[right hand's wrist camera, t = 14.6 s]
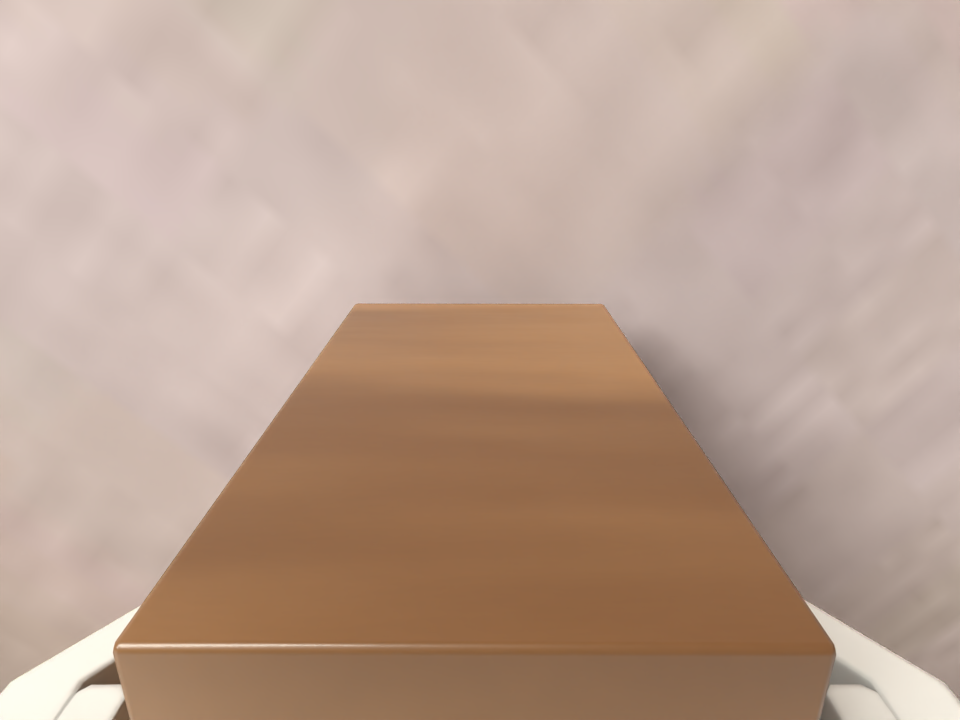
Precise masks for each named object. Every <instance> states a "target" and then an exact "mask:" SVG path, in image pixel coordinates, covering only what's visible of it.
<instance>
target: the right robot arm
mask: <svg viewBox="0 0 960 720" xmlns="http://www.w3.org/2000/svg"><path fill="white" fill-rule="evenodd" d="M804 601H805V602H806V604H807V605H808V606H809V608H810V609H811V611H812V612H813V614H814V615H815V617H816V618H817V620H818V621H819V623H820V624H821V626H822V627H823V629H824V630H825V631H826V633H827V634H828V636H829V637H830V639H831V640H832V642H833V643H834V646H835V650H836V658H835V662H834V666H833V670H832V674H831V678H830V682H829V686H828V690H827V694H826V698H825V702H824V705H823V709H822V713H821V717H820V720H960V701H959V699H958V698H957V697H956V696H955V694H954V693H953V692H952V691H951V690H950V688H949V687H948V686H947V685H946V684H945V683H944V682H943V681H941V680H939V679H938V678H936V677H934V676H933V675H931V674H929V673H927V672H926V671H924V670H922V669H921V668H919V667H917V666H916V665H914V664H912V663H911V662H909V661H907V660H905V659H904V658H902V657H900V656H899V655H897V654H895V653H894V652H892V651H890V650H889V649H887V648H885V647H884V646H882V645H880V644H878V643H877V642H875V641H873V640H872V639H870V638H868V637H867V636H865V635H863V634H862V633H860V632H858V631H856V630H855V629H853V628H851V627H850V626H848V625H846V624H845V623H843V622H841V621H840V620H838V619H836V618H835V617H833V616H831V615H829V614H828V613H826V612H824V611H823V610H821V609H819V608H818V607H816V606H814V605H813V604H811V603H809V602H807V601H806V600H804ZM139 608H140V606H139V607H137V608H136V609H134V610H132V611H131V612H129V613H127V614H126V615H124V616H122V617H120V618H119V619H117V620H115V621H114V622H112V623H110V624H108V625H107V626H105V627H103V628H102V629H100V630H98V631H97V632H95V633H93V634H91V635H90V636H88V637H86V638H85V639H83V640H81V641H79V642H78V643H76V644H74V645H73V646H71V647H69V648H68V649H66V650H64V651H62V652H61V653H59V654H57V655H56V656H54V657H52V658H50V659H49V660H47V661H45V662H44V663H42V664H40V665H39V666H37V667H35V668H33V669H32V670H30V671H28V672H27V673H25V674H23V675H21V676H20V677H18V678H16V679H15V680H13V681H11V682H10V683H9V685H8V686H7V687H6V688H5V689H4V690H3V692H2V693H1V694H0V720H130V717H129V714H128V710H127V706H126V702H125V698H124V694H123V690H122V687H121V683H120V679H119V675H118V671H117V667H116V663H115V659H114V656H113V648H114V644H115V641H116V640H117V639H118V637H119V636H120V634H121V633H122V632H123V630H124V629H125V627H126V626H127V625H128V623H129V622H130V620H131V619H132V618H133V616H134V615H135V613H136V612H137V610H138V609H139Z"/></svg>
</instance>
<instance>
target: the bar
mask: <svg viewBox="0 0 960 720" xmlns="http://www.w3.org/2000/svg"><path fill="white" fill-rule="evenodd" d="M113 656H114V659H115V663H116V667H117V671H118V675H119V679H120V683H121V687H122V690H123V694H124V698H125V702H126V706H127V710H128V714H129V717H130V720H820V717H821V713H822V709H823V705H824V702H825V698H826V694H827V690H828V686H829V682H830V678H831V674H832V670H833V666H834V662H835V658H836V650H835V646H834V643H833V642H832V640H831V639H830V637H829V636H828V634H827V633H826V631H825V630H824V629H823V627H822V626H821V624H820V623H819V621H818V620H817V618H816V617H815V615H814V614H813V612H812V611H811V609H810V608H809V606H808V605H807V604H806V602H805V601H804V599H803V598H802V596H801V595H800V593H799V592H798V590H797V589H796V587H795V586H794V584H793V583H792V581H791V580H790V579H789V577H788V576H787V574H786V573H785V571H784V570H783V568H782V567H781V565H780V564H779V562H778V561H777V559H776V558H775V556H774V555H773V553H772V552H771V551H770V549H769V548H768V546H767V545H766V543H765V542H764V540H763V539H762V537H761V536H760V534H759V533H758V531H757V530H756V528H755V527H754V526H753V524H752V523H751V521H750V520H749V518H748V517H747V515H746V514H745V512H744V511H743V509H742V508H741V506H740V505H739V503H738V502H737V501H736V499H735V498H734V496H733V495H732V493H731V492H730V490H729V489H728V487H727V486H726V484H725V483H724V481H723V480H722V478H721V477H720V475H719V474H718V473H717V471H716V470H715V468H714V467H713V465H712V464H711V462H710V461H709V459H708V458H707V456H706V455H705V453H704V452H703V450H702V449H701V448H700V446H699V445H698V443H697V442H696V440H695V439H694V437H693V436H692V434H691V433H690V431H689V430H688V428H687V427H686V425H685V424H684V423H683V421H682V420H681V418H680V417H679V415H678V414H677V412H676V411H675V409H674V408H673V406H672V405H671V403H670V402H669V400H668V399H667V397H666V396H665V395H664V393H663V392H662V390H661V389H660V387H659V386H658V384H657V383H656V381H655V380H654V378H653V377H652V375H651V374H650V372H649V371H648V370H647V368H646V367H645V365H644V364H643V362H642V361H641V359H640V358H639V356H638V355H637V353H636V352H635V350H634V349H633V347H632V346H631V345H630V343H629V342H628V340H627V339H626V337H625V336H624V334H623V333H622V331H621V330H620V328H619V327H618V325H617V324H616V322H615V321H614V319H613V318H612V317H611V315H610V314H609V312H608V311H607V309H606V308H605V306H604V305H602V304H356V305H355V306H354V307H353V308H352V310H351V311H350V313H349V314H348V315H347V317H346V318H345V320H344V321H343V322H342V324H341V325H340V327H339V328H338V329H337V331H336V332H335V334H334V335H333V336H332V338H331V339H330V341H329V342H328V343H327V345H326V346H325V348H324V349H323V350H322V352H321V353H320V355H319V356H318V358H317V359H316V360H315V362H314V363H313V365H312V366H311V367H310V369H309V370H308V372H307V373H306V374H305V376H304V377H303V379H302V380H301V381H300V383H299V384H298V386H297V387H296V388H295V390H294V391H293V393H292V394H291V395H290V397H289V398H288V400H287V401H286V402H285V404H284V405H283V407H282V408H281V410H280V411H279V412H278V414H277V415H276V417H275V418H274V419H273V421H272V422H271V424H270V425H269V426H268V428H267V429H266V431H265V432H264V433H263V435H262V436H261V438H260V439H259V440H258V442H257V443H256V445H255V446H254V447H253V449H252V450H251V452H250V453H249V454H248V456H247V457H246V459H245V460H244V462H243V463H242V464H241V466H240V467H239V469H238V470H237V471H236V473H235V474H234V476H233V477H232V478H231V480H230V481H229V483H228V484H227V485H226V487H225V488H224V490H223V491H222V492H221V494H220V495H219V497H218V498H217V499H216V501H215V502H214V504H213V505H212V506H211V508H210V509H209V511H208V512H207V514H206V515H205V516H204V518H203V519H202V521H201V522H200V523H199V525H198V526H197V528H196V529H195V530H194V532H193V533H192V535H191V536H190V537H189V539H188V540H187V542H186V543H185V544H184V546H183V547H182V549H181V550H180V551H179V553H178V554H177V556H176V557H175V558H174V560H173V561H172V563H171V564H170V566H169V567H168V568H167V570H166V571H165V573H164V574H163V575H162V577H161V578H160V580H159V581H158V582H157V584H156V585H155V587H154V588H153V589H152V591H151V592H150V594H149V595H148V596H147V598H146V599H145V601H144V602H143V603H142V605H141V606H140V608H139V609H138V610H137V612H136V613H135V615H134V616H133V618H132V619H131V620H130V622H129V623H128V625H127V626H126V627H125V629H124V630H123V632H122V633H121V634H120V636H119V637H118V639H117V640H116V641H115V644H114V648H113Z"/></svg>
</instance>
